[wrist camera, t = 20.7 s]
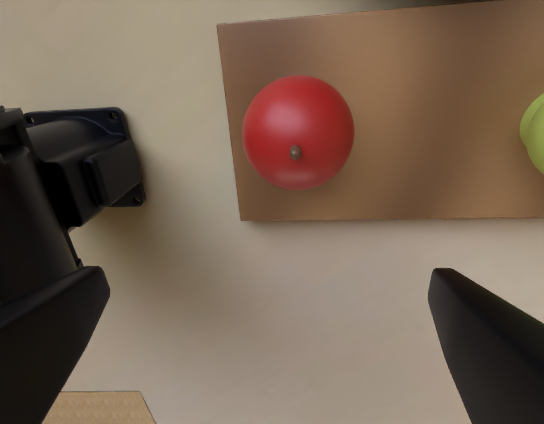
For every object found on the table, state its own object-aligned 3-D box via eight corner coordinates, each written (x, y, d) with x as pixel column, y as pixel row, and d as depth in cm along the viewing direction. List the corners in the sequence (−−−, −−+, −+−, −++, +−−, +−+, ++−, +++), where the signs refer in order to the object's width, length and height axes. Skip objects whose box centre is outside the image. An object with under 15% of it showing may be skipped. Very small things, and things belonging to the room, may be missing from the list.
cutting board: (244, 210, 22) (240, 221, 21) (223, 26, 17) (216, 24, 16) (601, 205, 19) (623, 216, 18) (695, -15, 14) (735, -21, 13)
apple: (255, 170, 19) (235, 217, 13) (247, 74, 17) (218, 85, 11) (345, 167, 18) (361, 216, 13) (349, 68, 16) (371, 76, 11)
